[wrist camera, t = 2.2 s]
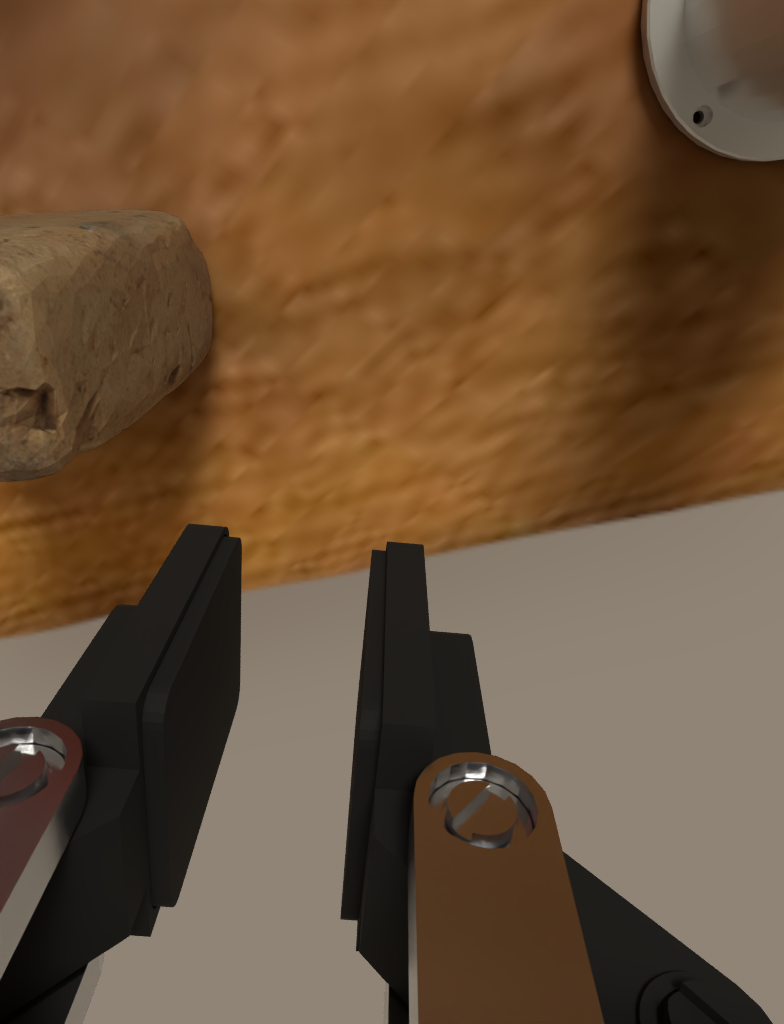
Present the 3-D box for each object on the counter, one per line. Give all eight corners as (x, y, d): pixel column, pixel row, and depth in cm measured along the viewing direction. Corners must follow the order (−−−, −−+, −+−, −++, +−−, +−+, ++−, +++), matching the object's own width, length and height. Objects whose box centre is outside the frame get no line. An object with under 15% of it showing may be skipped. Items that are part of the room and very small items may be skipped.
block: (217, 209, 35) (25, 234, 17) (228, 361, 38) (76, 519, 20) (-4, 204, 35) (-432, 225, 17) (26, 357, 38) (-309, 512, 20)
